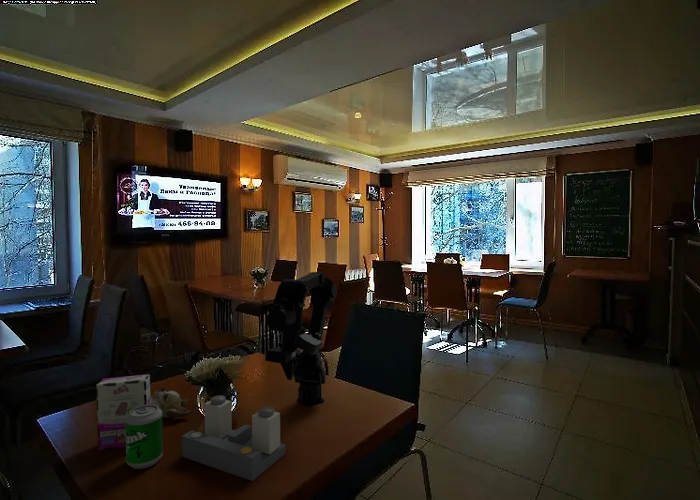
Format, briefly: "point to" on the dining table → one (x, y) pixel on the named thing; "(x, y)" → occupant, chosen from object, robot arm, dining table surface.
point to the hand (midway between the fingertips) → (289, 379)
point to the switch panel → (230, 452)
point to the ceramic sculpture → (170, 403)
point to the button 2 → (266, 430)
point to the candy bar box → (118, 407)
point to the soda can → (144, 436)
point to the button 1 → (218, 417)
